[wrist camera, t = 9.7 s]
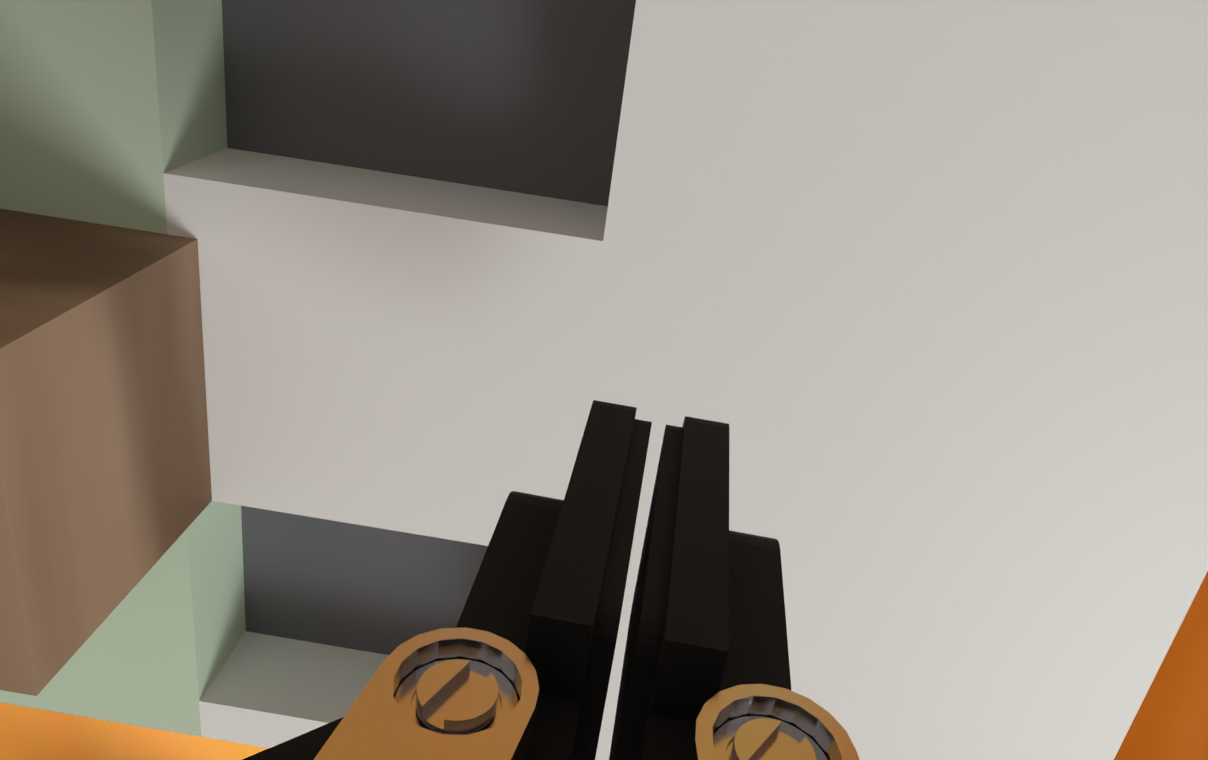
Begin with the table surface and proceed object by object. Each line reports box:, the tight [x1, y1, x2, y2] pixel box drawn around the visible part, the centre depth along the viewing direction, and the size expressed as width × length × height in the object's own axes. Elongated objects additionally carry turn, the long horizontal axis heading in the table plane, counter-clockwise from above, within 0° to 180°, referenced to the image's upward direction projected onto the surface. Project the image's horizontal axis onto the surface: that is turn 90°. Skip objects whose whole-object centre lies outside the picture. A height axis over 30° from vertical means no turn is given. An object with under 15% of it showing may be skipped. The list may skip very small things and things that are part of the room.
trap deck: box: [0, 0, 1208, 760], centre depth 15 cm, size 24×18×6 cm
